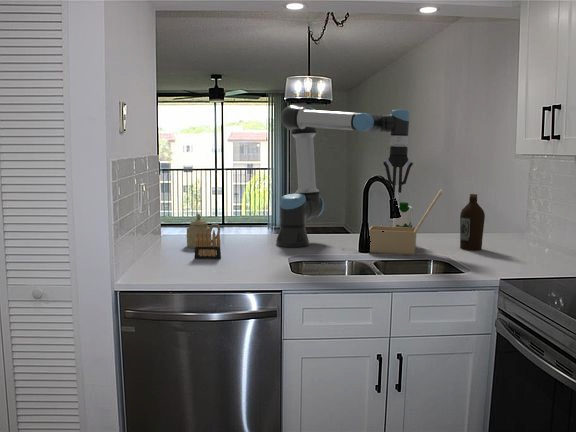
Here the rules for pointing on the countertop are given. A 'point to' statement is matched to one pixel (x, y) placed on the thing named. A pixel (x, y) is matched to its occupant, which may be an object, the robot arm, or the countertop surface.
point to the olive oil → (471, 225)
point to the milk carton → (404, 216)
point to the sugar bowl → (198, 226)
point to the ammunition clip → (202, 247)
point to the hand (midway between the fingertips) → (396, 200)
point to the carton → (392, 240)
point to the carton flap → (429, 209)
